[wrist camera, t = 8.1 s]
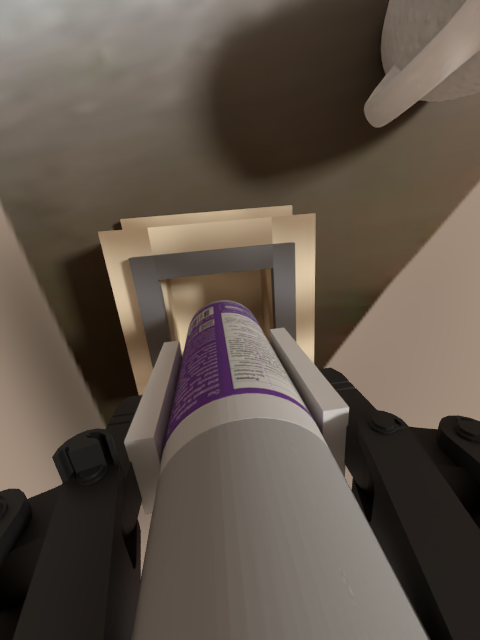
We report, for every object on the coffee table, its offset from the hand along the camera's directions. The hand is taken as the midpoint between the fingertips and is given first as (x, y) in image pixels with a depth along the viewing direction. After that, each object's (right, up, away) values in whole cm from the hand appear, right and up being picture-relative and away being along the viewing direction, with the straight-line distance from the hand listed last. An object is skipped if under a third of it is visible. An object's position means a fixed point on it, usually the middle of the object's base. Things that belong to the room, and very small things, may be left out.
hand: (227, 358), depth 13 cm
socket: (-1, +4, +11) cm, 12 cm away
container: (0, +1, +4) cm, 4 cm away
